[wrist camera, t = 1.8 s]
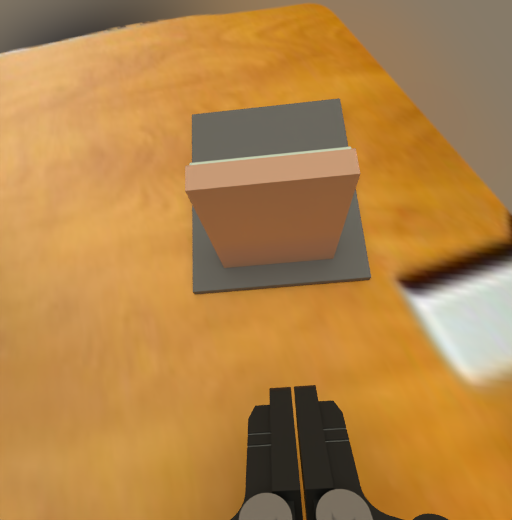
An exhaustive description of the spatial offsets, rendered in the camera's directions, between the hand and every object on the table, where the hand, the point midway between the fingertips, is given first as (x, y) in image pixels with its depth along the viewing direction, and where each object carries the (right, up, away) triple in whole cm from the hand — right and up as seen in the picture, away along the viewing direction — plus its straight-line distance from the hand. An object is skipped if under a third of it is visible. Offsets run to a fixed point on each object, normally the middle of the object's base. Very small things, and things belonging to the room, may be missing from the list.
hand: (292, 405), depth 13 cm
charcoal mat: (0, +12, +25) cm, 28 cm away
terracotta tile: (+1, +6, +22) cm, 23 cm away
